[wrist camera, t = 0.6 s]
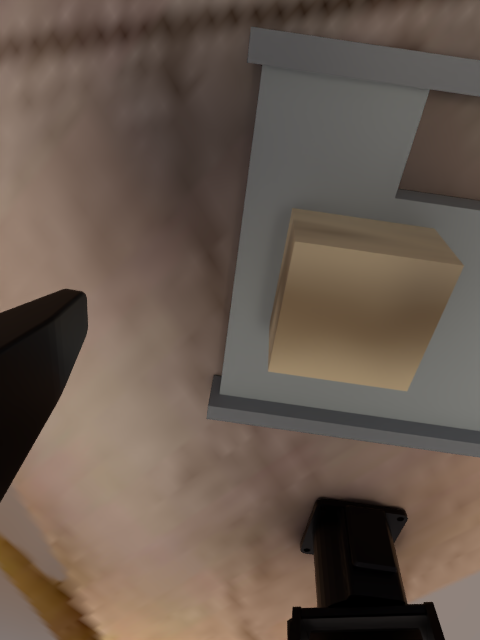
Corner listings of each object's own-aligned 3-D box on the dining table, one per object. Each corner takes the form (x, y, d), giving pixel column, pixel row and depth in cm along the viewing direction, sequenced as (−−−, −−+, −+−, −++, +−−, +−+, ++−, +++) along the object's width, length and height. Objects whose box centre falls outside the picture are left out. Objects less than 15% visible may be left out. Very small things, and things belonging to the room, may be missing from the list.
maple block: (389, 342, 22) (406, 391, 19) (269, 325, 22) (267, 371, 19) (434, 228, 18) (464, 265, 15) (292, 208, 18) (294, 241, 15)
